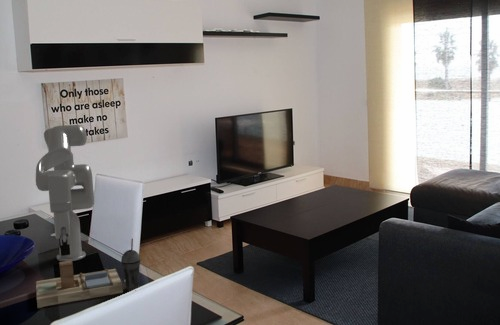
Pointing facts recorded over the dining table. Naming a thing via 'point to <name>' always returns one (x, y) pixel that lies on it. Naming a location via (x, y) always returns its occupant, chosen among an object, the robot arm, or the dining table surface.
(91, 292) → the puzzle board
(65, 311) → the dining table surface
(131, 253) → the beverage cup
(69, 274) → the walnut block
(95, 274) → the lid
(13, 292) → the dining table surface
